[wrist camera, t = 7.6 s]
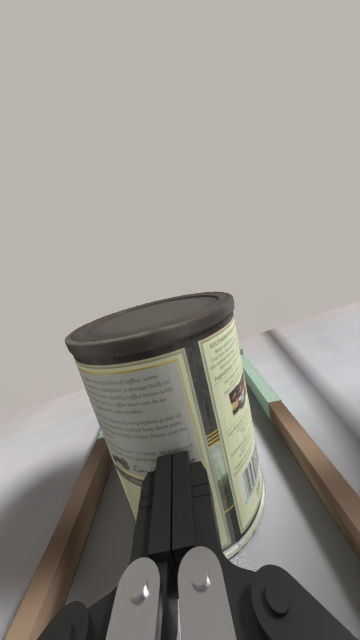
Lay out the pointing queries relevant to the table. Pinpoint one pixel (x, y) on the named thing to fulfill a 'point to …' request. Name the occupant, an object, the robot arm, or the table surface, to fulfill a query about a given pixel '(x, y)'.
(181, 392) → the coffee can
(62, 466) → the table surface
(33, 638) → the walnut lane
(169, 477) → the robot arm
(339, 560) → the table surface
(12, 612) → the table surface
